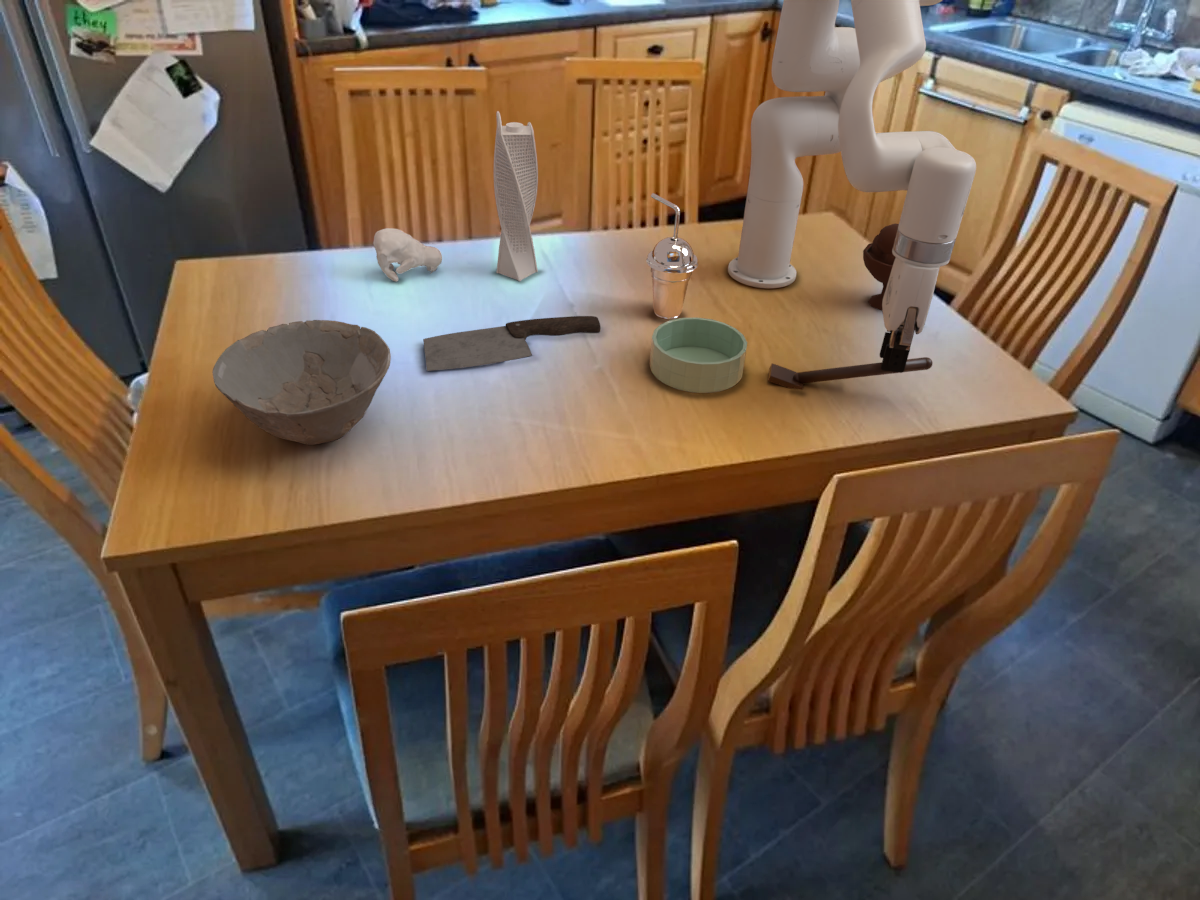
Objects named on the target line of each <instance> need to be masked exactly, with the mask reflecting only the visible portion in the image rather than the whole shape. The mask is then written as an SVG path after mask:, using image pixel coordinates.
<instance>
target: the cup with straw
mask: <svg viewBox="0 0 1200 900" xmlns="http://www.w3.org/2000/svg"><path fill="white" fill-rule="evenodd" d="M650 198H652V199H654V200H655V201H657V202H660V203H662V204H663V205H665V206H667V207H669V208H670V209H673V210H674V212H675V216H674V226H673V235H672V236H669V237H668V236H667V237H665V238H662V239H660V240H659V241H658V242H657V243H656V244H655V245H654V247H653V249H652V250H651V251H650V252H649V253H648V254H647V257H646V260H645V261H646V264H647V266H648V267H650V273H651V278H652V305H653V307H652V308H653V312H654V314H655V315H656V316H657V317H658V318H661V319H665V320H666V319H667V320H673V319H677V318H678V317H680V315H681V313H682V312H683V307H684V302H685V299H686V296H687V295H686V294H687V290H688V286H689V281H690V280H691V277H692V275H693V271H695V270H696V269H697V268H698V266H699V262H698V261H699V259H698V257H697V255H696V254H695V253H694V251H693V248H692V246H691V245H690V244H689V242H687V240H685V239H684V238H681V237H678V236H679V228H680V217H681V210H680V207H679V206H678V205H676V204H675V203H672V202H671V201H669V200H667V199H666V198H663V197H662V196H659V195H658V194H656V193H653V192H652V193H651V195H650Z"/></svg>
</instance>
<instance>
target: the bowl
mask: <svg viewBox="0 0 1200 900" xmlns="http://www.w3.org/2000/svg"><path fill="white" fill-rule="evenodd" d="M747 348H748V341H747V339H746V336H745V335H744V334H743V333H742V332H741V331H740V330H738V328H736V327H734V326H732V325H729V324H727V323H726V322H722V321H719V320H717V319H712V318H704V317H695V316H694V317H680V318H673V319H669V320H667V321H665V322H663V323H660V324H659V325H658V326H657V327H656V328H655V329H654V330H653V333H652V335H651V341H650V353H649V354H650V355H649V368H650V371H651V373H652V375H653V376H654V377H655V378H656V379H657V380H658V381H659V382H661V383H662V384H663V385H664V384H665V385H666V386H668V387H671V388H673V389H675V390H679V391H683V392H687V393H694V394H711V393H713V394H714V393H719V392H722V391H726V390H729V389H731V388H733V387H735V386H736V385H737V384H738V383H739V382H740V381H741V379H742V378H743V373H744V367H745V361H746V355H747Z"/></svg>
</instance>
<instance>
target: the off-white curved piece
mask: <svg viewBox="0 0 1200 900" xmlns="http://www.w3.org/2000/svg"><path fill="white" fill-rule="evenodd" d="M372 245H373V247H374V251H375V255H376V257H375V258H376V260H377V265H378V266H379V268H380V269H381V271H382V272H383V273H384V274H385V276H386V277H387V278H388V279H389V280H392V282H395V283H396V282H398V281H399V276H398V275H401V274H404V273H406V272H408V271H410V270H411V269H416V268H419V267H425V268H426V270H427V272H429V274H430V275H431V274H432V273H433V272H436V270H437V269H438V267H439V266H440V265H441V264H442V263H443V262H442V261H443V254H442V252H441V250H440V249H439V248H437V247H435V246H431V245H425V243H421V242H420V241H419V240H418V239H417V238H414V237H413V236H412V235H411V234H409V233H406V232H405V231H404V230H401V229H400V228H393V227H390V228H389V227H385V228H382V229H380V230H377V231H376V232H375V234H374V236H373V242H372ZM396 263H397V265H399V266H397V267H395V266H394V264H396Z"/></svg>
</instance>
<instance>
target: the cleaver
mask: <svg viewBox="0 0 1200 900" xmlns="http://www.w3.org/2000/svg"><path fill="white" fill-rule="evenodd" d="M600 332H601V322H600V319H599V318H598V317H597V316H594V315H574V316H573V315H572V316H571V315H570V316H558V317H557V316H555V317H543V318H542V317H541V318H532V319H523V320H516V321H509V322H506V323H505V325H502V326H495V327H494V326H493V327H488V328H486V327H485V328H479V329H471V330H465V331H458V332H452V333H446V334H445V333H444V334H440V335H434V336H430V337H426V338H423V339H422V341H423V350H424V357H425V367H426V371H427V372H428V371H429V372H432V371H444V370H457V369H463V368H472V367H480V366H485V365H486V366H487V365H492V364H498V363H504V362H508V361H513V360H514V361H515V360H517V359H523V358H526V357H531V356H533V353H532V351H531V348H530V346H529V344H528V343H527V338H528V337H530V336H565V335H569V334H570V335H571V334H575V333H590V334H591V333H596V334H597V333H598V334H599V333H600Z"/></svg>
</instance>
